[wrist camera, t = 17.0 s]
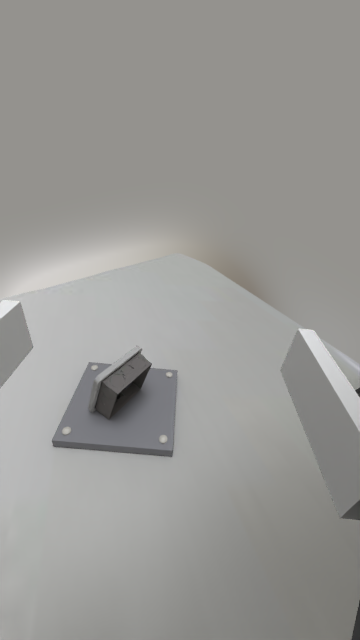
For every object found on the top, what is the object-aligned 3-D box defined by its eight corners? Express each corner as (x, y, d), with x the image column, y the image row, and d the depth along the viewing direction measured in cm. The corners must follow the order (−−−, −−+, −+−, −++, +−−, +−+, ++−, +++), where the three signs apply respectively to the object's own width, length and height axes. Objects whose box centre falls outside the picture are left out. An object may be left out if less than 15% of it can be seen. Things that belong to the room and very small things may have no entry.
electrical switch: (127, 376, 47) (130, 339, 42) (149, 392, 46) (156, 354, 40) (86, 411, 40) (84, 371, 35) (111, 431, 39) (112, 392, 33)
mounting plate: (176, 376, 51) (177, 369, 50) (171, 456, 37) (172, 449, 36) (89, 367, 50) (89, 361, 49) (53, 446, 37) (51, 439, 36)
